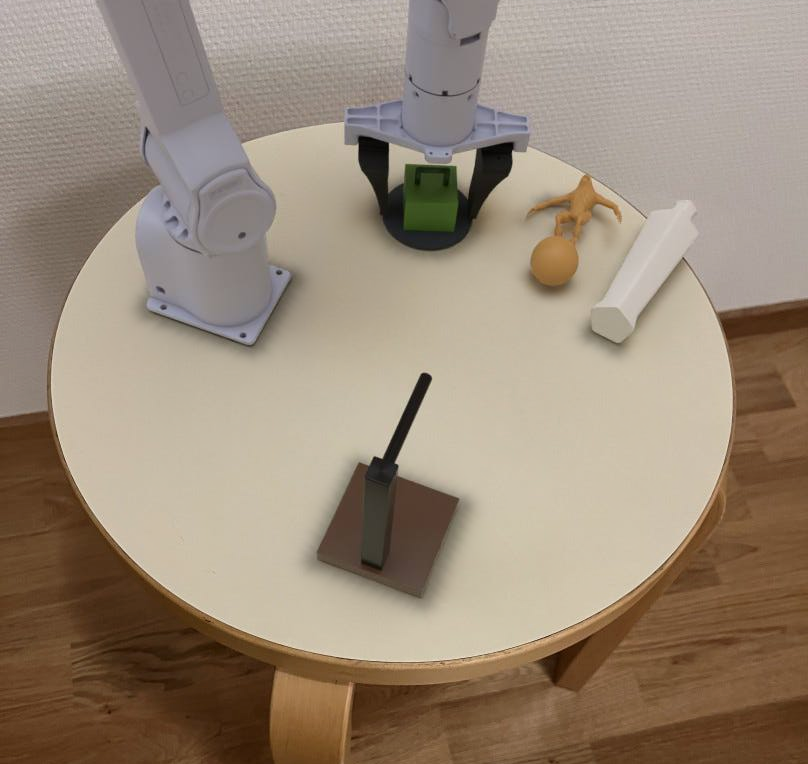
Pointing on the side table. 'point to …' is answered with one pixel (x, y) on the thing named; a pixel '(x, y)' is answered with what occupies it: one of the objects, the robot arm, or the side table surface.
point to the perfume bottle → (645, 269)
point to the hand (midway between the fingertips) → (427, 208)
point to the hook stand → (390, 517)
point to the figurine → (558, 254)
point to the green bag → (430, 197)
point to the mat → (425, 238)
